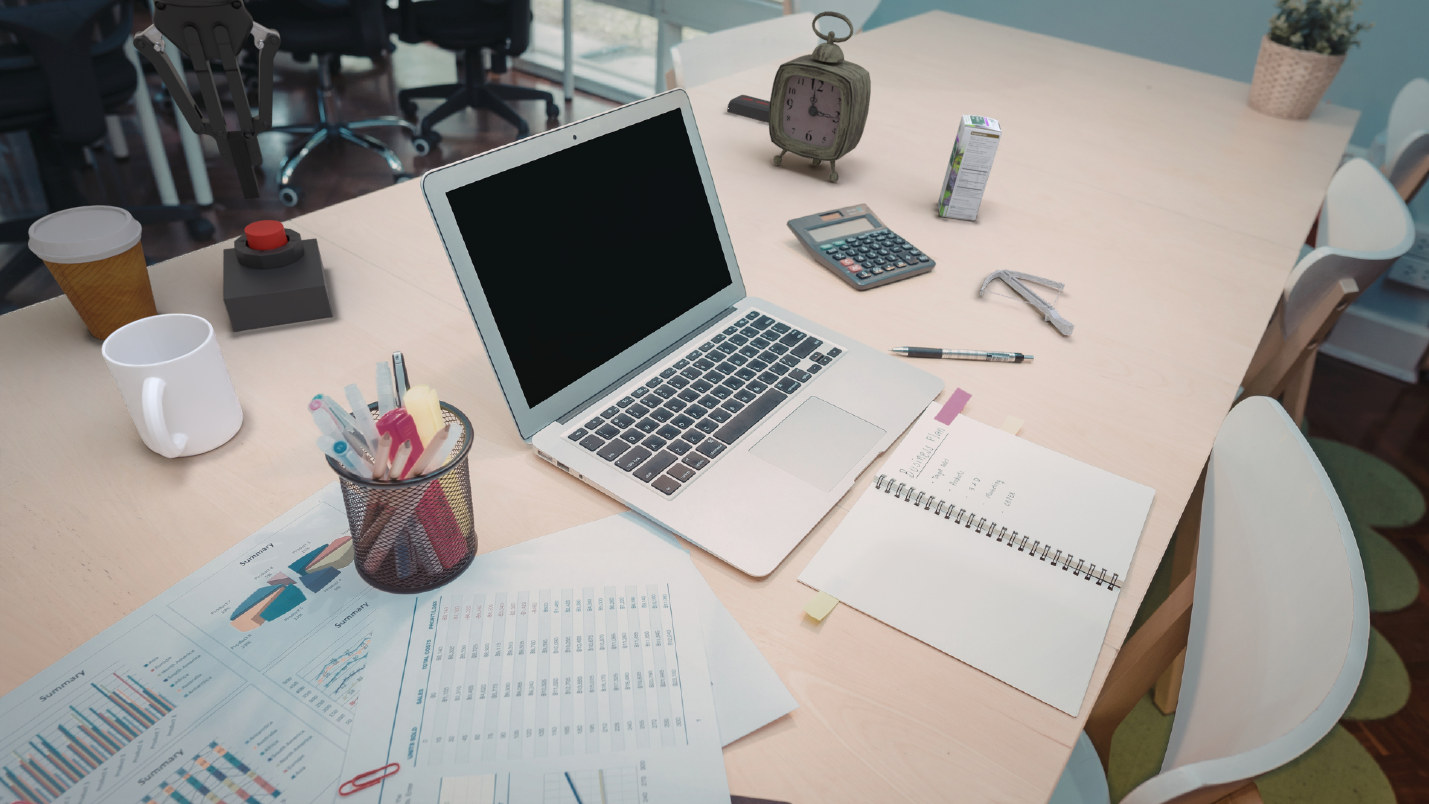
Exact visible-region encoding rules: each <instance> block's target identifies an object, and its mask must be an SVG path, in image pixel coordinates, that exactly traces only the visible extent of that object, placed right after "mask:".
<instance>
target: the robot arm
mask: <svg viewBox="0 0 1429 804" xmlns="http://www.w3.org/2000/svg"><path fill="white" fill-rule="evenodd" d="M152 3H153V14H152V24H151V25H149V26H148V27H147V28H145V29H144V30H143V31H142V30H141V31H136V33H135V34H134V37H133V42H132V44H133V47H134V48H135V49H136V50H137V52H139V53H140V54H141V55H142V56H143V57H144V58H146V59H147V61H149V62H150V63H151V64H152V66H153V67H154V69H155V71H156V72H157V74H158V75H159V77H160V79H161V81H162V82H163V84H164V86H165V88H166V89H167V91H168V92H169V94H170V96H171V97H172V100H173V101H174V103H175V104H176V106H177V107H178V109H179V111H180V113H181V115H182V116H183V118H184V119H185V121H186V123H187V124H188V126H189V127H190V129H191V131H192V132H193V133H194V134H196V135H200V136H201V135H206V136H209V137H211V138H213V139H214V140H215V142H216V146H217V149H218V153H219V156H220V159H221V164H223V167H225V168H226V169H228V168H231V169H232V168H235V170H236V174H237V177H238V179H239V184H240V188H241V191H242V194H243V199H244V200H249V199H250V200H251V199H260V198H261V194H260V193H261V192H260V186H259V182H258V178H257V175H256V172H255V168H254V166H262V164H263V155H262V151H261V147H260V142H259V138H258V135H259V134H260V133H262V132H264V131H270V130H272V128H273V109H274V108H273V103H274V63H275V62H274V60H275V57H276V55H277V52H278V51H279V48H280V46H281V44H282V40H281V36H280V33H279V31H278V30H277V29H275V28H267V27H266V26H263V25H262V24H260V23H258V22H256V21H254V18H253V15H252V14H251V12H250V11H249V10H248V8H247V7H246V5H245V4H244V3H245V2H244V0H152ZM250 34H251V35H252V36H253V42H254V46H255V47H256V49H258V50H259V53H258V113H257V115H254V116H253V114H252V111H251V107H250V104H249V100H248V95H247V92H246V89H245V88H246V87H245V84H244V81H243V76H242V74H241V69H240V65H239V61H238V56H239V55H240V54H241V52H242V50H243V49H244V47H245V44H246V43H247V40H248V38H249V36H250ZM163 36H164V38H166V39H167V40H168V41H169V42H170V43H172V45H174V46H175V47H176V48H177V49H178V50H179V51H180V52H181V53H182V54H184V55H185V56H186V57H188V58H189V59H191V63H192V67H193V70H194V73H195V75H196V78H197V83H198V86H199V90H200V92H201V96H202V99H203V103H204V106H205V110H206V113H207V116H208V118H205V117H204V115H203V114H202V112H201V110H200V108H199V106H198V105H197V103H196V101H195V99H194V98H193V96H192V94H191V93H190V91H189V89H188V87H187V86H186V84H185V82H184V81H183V79H182V77H181V75H180V73H179V71H178V70H177V69H176V67H175V66H174V63H173V62H172V60H171V58H170V57H169V55H168V53H167V52H166V51H165V50H166V42H165V40H164V39H163ZM211 60H219V61H221V64H222V67H223V70H224V73H225V77H226V80H227V84H228V88H229V92H230V96H231V98H232V102H233V105H234V110H235V113H236V116H237V117H236V118H237V120H238V124H239V128H240V130H231V131H230V130H229V131H228V124H227V122H226V118H225V115H224V111H223V107H222V103H221V100H220V97H219V93H218V90H217V86H216V83H215V78H214V74H213V72H212V68H211V64H210V61H211Z"/></svg>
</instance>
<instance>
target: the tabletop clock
mask: <svg viewBox="0 0 1429 804" xmlns="http://www.w3.org/2000/svg"><path fill="white" fill-rule="evenodd" d="M823 17H833V18H837V19H840V20H842V21H844V22H845V23H846V24H847V26H848V28H849V34H848V35H846V36H845V37H836V33H835V31H833V30H831V31H828V34H827V35H825V34H823V33H822V32H820V31H819V30H818V29H817V28H816V22H817V20H819V19H820V18H823ZM811 27H812V32H813V33H814V34H815V35H816V36H817V37H818V38H820V39H821V40H823V41H825V42H822V43H820V44H818V45H817V46H816V47H815V48H814V49H813V51H812V53H811V54H810V53H809V54H805V55H801V56H798V57H796V58H794V59H791V60H788V61H787V62H784V63H781V64H780V65H779V67H778V69H777V71H776V72H775V76H774V79H773V82H772V87H771V93H770V98H769V101H770V107H769V122H768V133H769V138H770V142H771V143H772V144H774V145H775V146H776V147H778V148H779V149H781V150H782V151H781V153H780V154H779V155H775V156H773V159H772V163H773V165H775V166H780V165H781V164H782V163H783V158H784V156H785V155H786V154H787V153H788V152H789V153H791V154H794V155H796V156H799V157H802V158H807V159H811V160H812V164H813V166H815V167H820V166H821V165H822V162H829V163H830V170H831V172H830V173H829V175H828V180H829V181H830V182H832V183H836V182H837V181H838V180H839V178H840V175H839V173H838V172H837V171H836V162H837V161H838V160H840V159H841V158H843V157H844V156H846V155H847V154H849V153H850V152H851V151H853V150H855V149H856V147H857V146H858V145H859V143H860V142H861V139H862V136H863V134H864V131H865V127H866V123H867V120H868V116H869V110H870V104H871V103H870V101H871V92H872V89H871V88H872V86H871V85H872V81H871V76H870V75H871V74H870V71H868V70H867V69H865V68H864V67H863V66H861V65H859V64H858V63H854V62H852V61H848V60H845V54H844V52H843V50H842V48H841V46H839V44H838V43H845V42H847V41H848V40H850V39H851V38H852V37H853V35H854V26H853V23H852V21H851V20H850V18H848V17H847V16H846V15H845V14H842V13H840V12H836V11H826V10H825V11H822V12H819V13H818V14H816V15H815V16H814V18H813V20H812V22H811Z"/></svg>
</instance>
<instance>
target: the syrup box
mask: <svg viewBox="0 0 1429 804" xmlns="http://www.w3.org/2000/svg"><path fill="white" fill-rule="evenodd" d="M1002 134H1003V130H1002V127H1001V123H1000V121H999V120H998V119H995V118H992V117H988V116H982V115H974V114H962V115H961V118H960V122H959V125H958V128H957V132H956V136H955V139H954V142H953V146H952V150H951V153H950V156H949V161H948V164H947V167H946V171H945V175H944V178H943V180H942V181H943V182H942V185H941V189H940V193H939V197H938V201H937V206H938V207H937V208H938V212H939V213H938V215H939V217H943V218H948V219H957V220H965V221H973V222H975V221H976V219H977V216H978V212H979V209H980V206H981V203H982V199H983V197H984V193H985V190H986V186H987V183H988V180H989V177H990V173H991V170H992V167H993V164H994V161H995V157H996V154H997V151H998V147H999V145H1000V144H999V143H1000V141H1001V137H1002Z"/></svg>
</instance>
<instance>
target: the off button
mask: <svg viewBox="0 0 1429 804" xmlns="http://www.w3.org/2000/svg"><path fill="white" fill-rule="evenodd" d="M284 226H285V225H284V224H283V223H282V222H281V221H279V220H273V219H264V220H257V221H254V222H251V223H249V224H248V225H246V226H245V227H244V234H246V237H247V241H248V244H249V247H250V248H251V249H254V250H270V249H276V248H278V247H281V246H284V245H285V244H286V243H288V241H287V237H286V234H285V230H284V228H285V227H284Z"/></svg>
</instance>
